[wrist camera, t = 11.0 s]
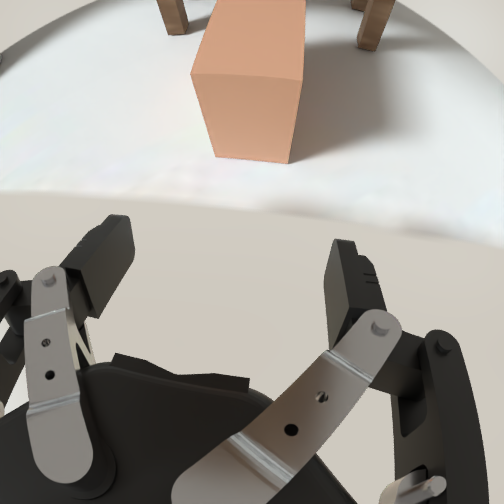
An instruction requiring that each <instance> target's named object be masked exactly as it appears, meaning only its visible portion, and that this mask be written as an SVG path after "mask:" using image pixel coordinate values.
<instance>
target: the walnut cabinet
mask: <svg viewBox="0 0 504 504" xmlns="http://www.w3.org/2000/svg"><path fill="white" fill-rule="evenodd" d="M157 3H158V6H159V9H160V12H161V15H162V18H163V21H164V24H165V27H166V30H167V33H168V35H176V34H185V32H186V30H187V27H188V25H189V22H188V19H187V15H186V11H185V7H184V3H183V0H157ZM394 3H395V0H351V6H352V9H357V10H361V11H365V12H364V16H363V19H362V22H361V25H360V28H359V31H358V35H357V43H358V48H362V49H366V50H370V51H376V48H377V46H378V43H379V41H380V38H381V36H382V33H383V31H384V28H385V26H386V23H387V21H388V18H389V16H390V13H391V10H392V8H393V5H394Z"/></svg>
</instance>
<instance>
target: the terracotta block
mask: <svg viewBox="0 0 504 504" xmlns="http://www.w3.org/2000/svg"><path fill="white" fill-rule="evenodd" d="M305 10H306V0H217V2H216V4H215V7H214V9H213V12H212V14H211V17H210V20H209V22H208V25H207V27H206V30H205V33H204V35H203V38H202V41H201V44H200V47H199V49H198V52H197V55H196V58H195V61H194V64H193V67H192V70H191V73H190V75H191V78H192V81H193V85H194V88H195V91H196V95H197V98H198V101H199V104H200V108H201V111H202V114H203V118H204V121H205V124H206V127H207V131H208V134H209V137H210V140H211V144H212V147H213V150H214V153H215V157H222V158H235V159H246V160H256V161H266V162H275V163H284V164H288V160H289V154H290V149H291V143H292V138H293V133H294V127H295V122H296V116H297V111H298V105H299V99H300V94H301V88H302V82H303V66H304V42H305Z"/></svg>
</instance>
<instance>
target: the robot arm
mask: <svg viewBox="0 0 504 504" xmlns="http://www.w3.org/2000/svg"><path fill="white" fill-rule="evenodd" d="M1 58H2V55H1V53H0V62H1ZM134 255H135V246H134V241H133V235H132V229H131V222H130V219H129V217H128V216H125V215H113V214H111V215H109V216H108V217H107V218H106V219H105V220H104V222H103V223H102V224H101V225H98V226H97V227H95V228H93V229H92V230H90V231H89V232H88V233H87V234H86V235H85V236H84V237H83V238H82V241H80V242H79V243H78V244H77V246H76V247H74V249H73V250H72V251H71V252H70V253H69V254H68V256H67V257H66V258H65V259H64V260H63V262H62V263H61V264H60V265H59V266H51V267H47V268H45V269H43V270H41V271H40V272H38V273H37V274H36V275H35V277H34V278H33V280H28V281H20V280H19V278H18V276H17V274H16V272H15V271H13V270H6V271H3V272H1V273H0V322H1V321H2V319H3V318H4V317H5V319H6V320H7V322H8V324H9V326H10V327H9V329H8V330H7V332H6V334H5V335H4V337H3V339H2V340H1V342H0V504H357V502H356V501H355V500H354V499H353V498H352V497H351V495H350V494H349V493H348V492H347V491H346V489H345V488H344V487H343V486H342V485H341V483H340V482H339V481H338V480H337V479H336V477H335V476H334V475H333V474H332V472H331V471H330V470H329V469H328V467H327V466H326V465H325V464H324V462H323V461H322V460H321V459H320V458H319V456H318V455H317V454H316V452H317V451H318V450H319V449H320V447H321V446H322V445H323V444H324V443H325V442H326V440H327V439H328V438H329V437H330V436H331V434H332V433H333V432H334V431H335V429H336V428H337V427H338V426H339V425H340V423H341V422H342V421H343V420H344V418H345V417H346V416H347V415H348V413H349V412H350V411H351V409H352V408H353V407H354V405H355V404H356V403H357V401H358V400H359V398H360V397H361V396H362V395H363V393H364V392H365V390H366V389H367V387H370V388H373V389H376V390H379V391H382V392H385V393H389V394H390V395H391V406H392V418H393V435H394V459H395V481H394V482H392V483H391V484H389V485H388V486H387V487H386V488H385V489H384V490H383V492H382V494H381V496H380V500H379V504H489V492H488V481H487V470H486V461H485V455H484V447H483V440H482V434H481V429H480V424H479V418H478V413H477V409H476V405H475V400H474V396H473V391H472V387H471V383H470V380H469V376H468V372H467V369H466V365H465V362H464V358H463V355H462V352H461V348H460V346H459V343H458V342H457V340H456V339H455V338H454V337H453V336H452V335H451V334H449V333H448V332H445V331H442V330H432V331H430V332H429V333H428V334H427V335H426V336H425V338H421V337H419V336H415V335H412V334H410V333H407V332H405V331H403V330H402V328H401V325H400V323H399V321H398V320H397V319H396V318H395V317H394V316H393V315H392V314H390V313H388V312H387V309H386V306H385V302H384V298H383V295H382V291H381V288H380V285H379V282H378V279H377V277H376V272H375V269H374V266H373V264H372V263H371V262H370V261H369V259H368V258H367V257H366V256H362V255H358V253H357V249H356V245H355V242H354V241H349V240H341V239H334V241H333V244H332V247H331V251H330V255H329V259H328V263H327V267H326V271H325V275H324V293H325V304H326V315H327V325H328V326H327V327H328V339H329V350H326V351H324V352H323V353H322V354H321V355H320V356H319V357H318V358H317V359H316V360H315V361H314V363H312V365H311V366H310V367H309V368H308V369H307V370H306V371H305V372H304V373H303V374H302V375H301V376H300V377H299V378H298V379H297V380H296V381H295V382H294V383H293V384H292V385H291V386H290V387H289V388H288V389H287V390H286V391H285V392H283V393H282V394H281V395H280V397H278V398H277V399H276V400H275V401H273V400H272V399H270V398H269V397H267V396H266V395H264V394H262V393H260V392H258V391H256V390H253V389H251V388H249V381H250V378H244V377H236V376H230V375H223V374H216V373H210V374H191V375H190V374H189V375H177V374H173V373H171V372H169V371H167V370H165V369H163V368H161V367H158V366H156V365H154V364H152V363H150V362H148V361H146V360H143V359H139V358H134V357H130V356H126V355H122V354H118V353H115V355H114V357H113V359H112V361H111V362H103V363H97V364H96V362H95V359H94V355H93V351H92V347H91V342H90V338H89V334H88V329H87V325H86V323H85V320H86V318H87V316H89V317H93V318H97V319H99V317H100V315H101V313H102V312H103V310H104V308H105V307H106V305H107V303H108V302H109V300H110V298H111V296H112V295H113V293H114V291H115V290H116V288H117V286H118V285H119V283H120V282H121V280H122V278H123V277H124V275H125V273H126V272H127V270H128V269H129V267H130V265H131V264H132V262H133V260H134ZM24 365H25V366H26V378H27V388H28V397H29V401H28V402H26V403H25V404H23V405H21V406H20V407H18V408H16V409H15V410H13V411H11V412H10V413H8V414H6V415H5V416H4V408H5V406H6V404H7V402H8V399H9V397H10V395H11V393H12V390H13V388H14V386H15V384H16V382H17V380H18V377H19V375H20V373H21V371H22V369H23V367H24Z"/></svg>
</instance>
